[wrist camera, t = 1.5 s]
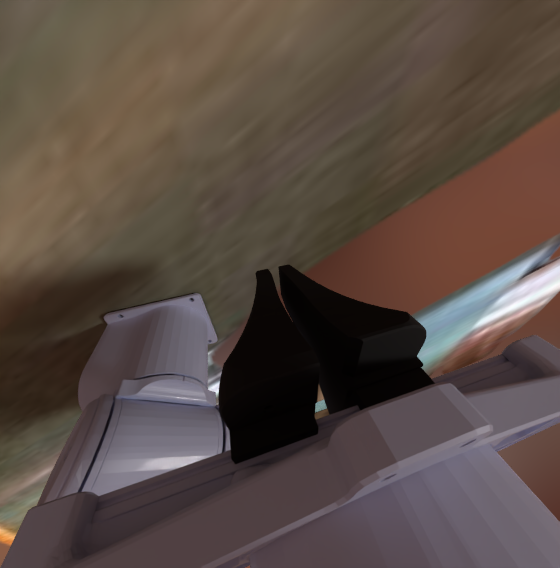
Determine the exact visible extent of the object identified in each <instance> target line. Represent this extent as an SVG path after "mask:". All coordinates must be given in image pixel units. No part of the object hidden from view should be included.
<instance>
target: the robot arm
mask: <svg viewBox="0 0 560 568" xmlns="http://www.w3.org/2000/svg"><path fill="white" fill-rule="evenodd" d="M279 277H280V288H281V295H282V298H283V301H284V304H285V307H286V309H287V311H288V313H289V315H290V317H291V319H292V320H291V319H290V317H289V315H288V314H287V312H286V310H285V308H284V306H283V304H282V303H281V301H280V298H279V296H278V293H277V290H276V287H275V283H274V280H273V277H272V274H271V273H270V271H269V270H268V269H265V270H260V271H257V272H256V279H257V287H256V294H255V299H254V304H253V307H252V311H251V314H250V317H249V319H248V322H247V324H246V327H245V329H244V331H243V333H242V335H241V337H240V339H239V341H238V343H237V344H236V346H235V348H234V349H233V351H232V353H231V354H230V355H229V357H228V359H227V360H226V362H225V363H224V366H223V370H222V374H221V379H220V386H219V405H216V393H215V392H212V391H209V390H208V344H211V343H215V342H217V335H216V333H215V330H214V328H213V325H212V323H211V320H210V318H209V315H208V312H207V310H206V307H205V305H204V302H203V300H202V297H201V295H200V294H198V293H195V294H190V295H186V296H182V297H177V298H173V299H168V300H164V301H160V302H155V303H151V304H146V305H142V306H137V307H133V308H129V309H124V310H120V311H115V312H111V313H107V314H106V315H105V316H104V320H105V321H106V323H107V324H108V325H107V327H106V328H105V330H104V332H103V334H102V336H101V338H100V340H99V341H98V343H97V345H96V347H95V349H94V351H93V353H92V354H91V356H90V358H89V360H88V362H87V364H86V366H85V367H84V369H83V372H82V374H81V377H80V381H79V386H78V401H79V405H80V408H81V410H82V414H81V416H80V417H79V419H78V421H77V423H76V425H75V426H74V428H73V430H72V432H71V434H70V436H69V438H68V440H67V442H66V444H65V446H64V448H63V450H62V452H61V454H60V456H59V458H58V460H57V462H56V464H55V466H54V468H53V470H52V472H51V475H50V477H49V479H48V481H47V483H46V485H45V488H44V490H43V492H42V494H41V497H40V499H39V501H38V504H37V506H34V507H32V508H31V509H30V510H28V512H27V514H26V516H25V518H24V520H23V522H22V524H21V526H20V528H19V530H18V532H17V534H16V536H15V539H14V541H13V543H12V545H11V547H10V549H9V551H8V553H7V555H6V557H5V559H4V561H3V564H2V565H1V567H0V568H245V567H247V566H249V565H250V568H560V522H559V521H558V520H557V519H556V518H555V516H554V515H553V514H552V513H551V512H550V511H549V510H548V509H547V508H546V506H545V505H544V504H543V503H542V502H541V501H540V500H539V499H538V498H537V496H535V494H534V493H533V492H532V491H531V490H530V489H529V488H528V486H527V485H526V484H525V483H524V482H523V481H522V480H521V479H520V478H519V477H518V475H517V474H516V473H515V472H514V471H513V470H512V469H511V468H510V467H509V465H508V464H507V463H506V462H505V461H504V460H503V459H502V458H501V457H500V456H499V454H498V453H497V452H498V451H500V450H502V449H504V448H506V447H508V446H510V445H513V444H515V443H517V442H519V441H521V440H523V439H525V438H527V437H529V436H532V435H534V434H536V433H538V432H540V431H542V430H544V429H547V428H548V427H551V426H553V425H555V424H557V423H560V350H559V349H558V348H556V347H554V346H553V345H552V344H550V343H548V342H546V341H545V340H543V339H542V338H540V337H539V336H537V335H532V336H529V337H526V338H523V339H520V340H517V341H515V342H513V343H512V344H510V345H509V346H507V347H506V348H505V350H504V351H503V352H502V354H501V355H498V356H495V357H493V358H489V359H487V360H484V361H481V362H478V363H475V364H472V365H470V366H467V367H464V368H461V369H458V370H455V371H453V372H450V373H447V374H444V375H441V376H439V377H436V378H433V379H431V378H430V377H429V376H428V375H427V374H426V373H425V371H424V370H423V369H422V368H421V367H422V366H423V363H422V362H421V361H420V360H419V358H418V357H417V355H418V353H419V351H420V349H421V347H422V346H423V344H424V342H425V339H426V330H425V328H424V327H423V326H422V325H421V324H420V323H419V322H418V321H416V320H415V319H414V318H413V317H412V316H411V315H410V314H408V313H407V312H403V311H398V310H393V309H388V308H382V307H379V306H375V305H371V304H367V303H364V302H360V301H357V300H354V299H351V298H349V297H346V296H343V295H341V294H339V293H336V292H334V291H332V290H329V289H327V288H326V287H324V286H322V285H320V284H318V283H316V282H315V281H313V280H311V279H310V278H308V277H307V276H305V275H304V274H302V273H301V272H299V271H298V270H296V269H295V268H293V267H292V266H290V265H284V266H279ZM190 298H193V300H191V299H190ZM120 315H123V316H120ZM292 321H293V322H292ZM208 340H210V341H208ZM318 386H320V388H321V391H322V394H323V397H324V400H325V403H326V406H327V409H328V412H329V415H328V416H325V417H322V418H319V419H315V403H316V402H317V399H318Z"/></svg>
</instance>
